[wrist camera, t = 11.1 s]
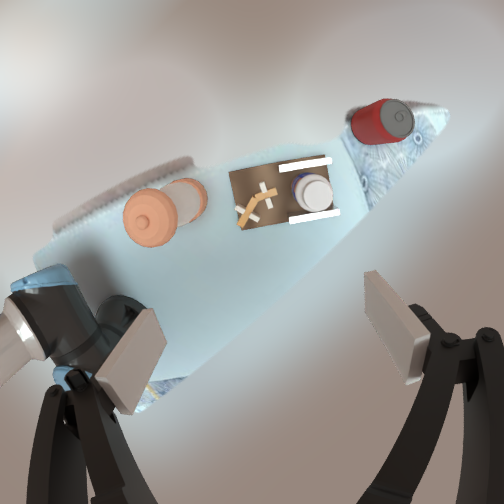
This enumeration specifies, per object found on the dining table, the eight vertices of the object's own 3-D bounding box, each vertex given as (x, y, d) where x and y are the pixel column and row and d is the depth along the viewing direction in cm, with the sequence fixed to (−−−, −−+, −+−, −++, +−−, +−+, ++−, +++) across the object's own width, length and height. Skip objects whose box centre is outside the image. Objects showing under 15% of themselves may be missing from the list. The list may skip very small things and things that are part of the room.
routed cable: (238, 227, 46) (236, 231, 43) (229, 188, 44) (227, 189, 41) (282, 219, 45) (283, 222, 43) (274, 179, 43) (275, 179, 40)
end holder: (287, 218, 45) (290, 224, 41) (277, 165, 42) (278, 165, 38) (334, 210, 44) (340, 215, 40) (325, 157, 41) (331, 157, 37)
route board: (242, 229, 47) (241, 230, 46) (229, 172, 44) (228, 172, 43) (333, 212, 45) (334, 213, 44) (323, 154, 42) (324, 154, 41)
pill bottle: (289, 172, 42) (296, 175, 33) (322, 171, 42) (337, 174, 33) (291, 205, 44) (298, 216, 35) (323, 204, 44) (338, 215, 34)
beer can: (390, 133, 40) (425, 128, 28) (364, 152, 41) (395, 150, 30) (369, 103, 38) (400, 87, 27) (342, 120, 40) (367, 108, 28)
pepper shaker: (159, 196, 45) (101, 219, 27) (190, 169, 44) (142, 175, 26) (185, 227, 47) (140, 267, 29) (216, 202, 45) (184, 229, 27)
